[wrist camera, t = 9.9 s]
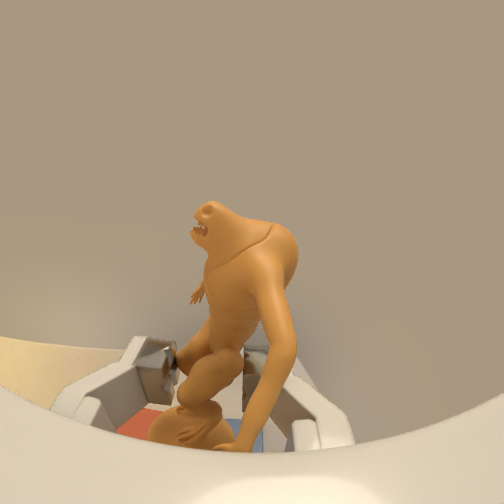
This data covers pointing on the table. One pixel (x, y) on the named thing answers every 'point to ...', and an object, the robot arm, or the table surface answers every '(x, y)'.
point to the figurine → (233, 330)
